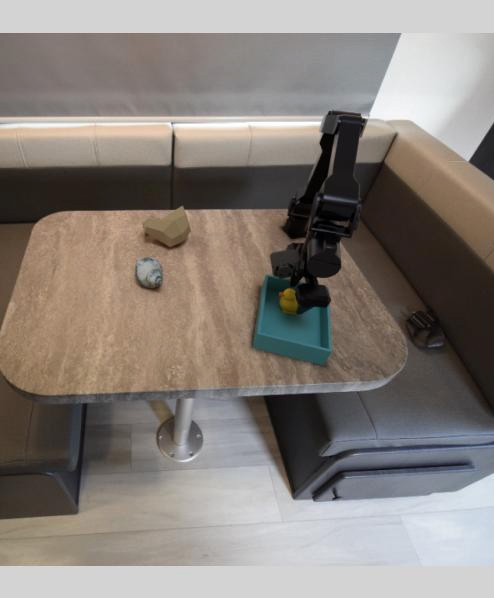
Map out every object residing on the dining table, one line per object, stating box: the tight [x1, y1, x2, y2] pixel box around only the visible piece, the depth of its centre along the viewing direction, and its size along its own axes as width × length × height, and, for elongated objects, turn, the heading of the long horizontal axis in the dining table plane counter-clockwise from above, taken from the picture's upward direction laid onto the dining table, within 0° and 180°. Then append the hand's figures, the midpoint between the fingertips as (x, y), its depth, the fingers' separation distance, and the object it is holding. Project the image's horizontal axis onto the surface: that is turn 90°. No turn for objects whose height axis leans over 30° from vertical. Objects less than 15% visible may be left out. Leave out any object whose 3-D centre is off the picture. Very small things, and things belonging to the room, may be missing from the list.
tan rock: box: [141, 205, 192, 248], centre depth 102 cm, size 15×11×12 cm
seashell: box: [135, 256, 163, 289], centre depth 91 cm, size 6×8×12 cm
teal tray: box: [251, 274, 333, 366], centre depth 82 cm, size 20×15×5 cm
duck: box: [279, 288, 299, 315], centre depth 84 cm, size 7×4×6 cm, turn 84°
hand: (295, 299), depth 83 cm, fingers open, 9 cm apart
